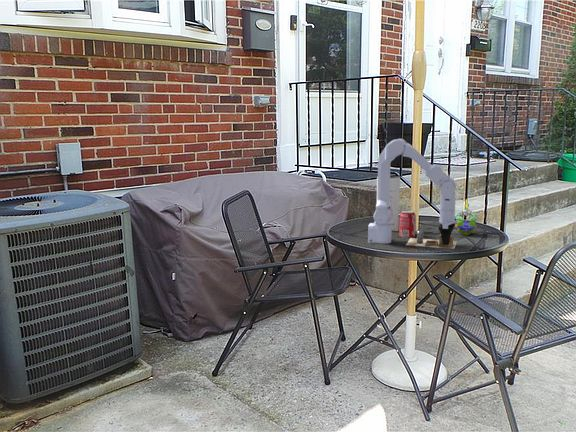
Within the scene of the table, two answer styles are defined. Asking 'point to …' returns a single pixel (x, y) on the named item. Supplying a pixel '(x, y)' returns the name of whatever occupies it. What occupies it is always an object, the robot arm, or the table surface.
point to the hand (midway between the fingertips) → (446, 242)
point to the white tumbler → (394, 200)
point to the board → (427, 243)
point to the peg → (419, 236)
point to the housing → (449, 242)
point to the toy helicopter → (466, 226)
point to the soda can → (407, 223)
